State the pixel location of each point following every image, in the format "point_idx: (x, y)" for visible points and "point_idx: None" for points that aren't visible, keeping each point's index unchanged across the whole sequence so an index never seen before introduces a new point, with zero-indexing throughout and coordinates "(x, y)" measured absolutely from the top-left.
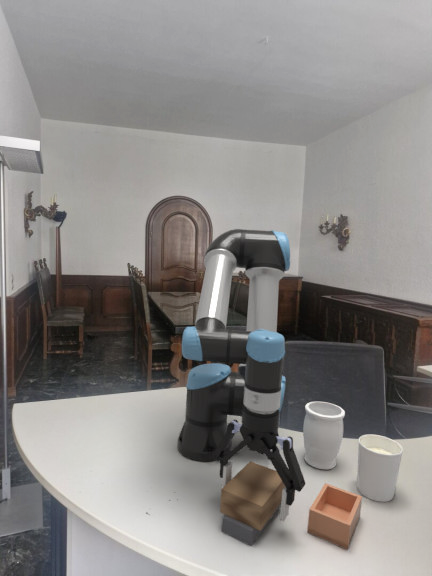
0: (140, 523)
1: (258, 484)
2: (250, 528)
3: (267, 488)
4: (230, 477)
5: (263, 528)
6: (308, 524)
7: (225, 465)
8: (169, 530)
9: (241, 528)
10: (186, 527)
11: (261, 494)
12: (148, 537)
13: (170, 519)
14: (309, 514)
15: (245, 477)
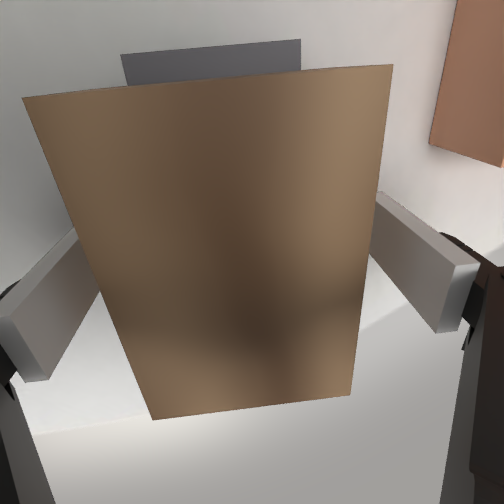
0: (30, 408)
1: (264, 302)
2: None
3: (322, 298)
4: (67, 267)
5: None
6: (451, 150)
7: (19, 366)
8: (98, 384)
9: None
10: (117, 356)
11: (316, 349)
12: (87, 416)
13: (61, 363)
14: (483, 159)
15: (167, 300)
